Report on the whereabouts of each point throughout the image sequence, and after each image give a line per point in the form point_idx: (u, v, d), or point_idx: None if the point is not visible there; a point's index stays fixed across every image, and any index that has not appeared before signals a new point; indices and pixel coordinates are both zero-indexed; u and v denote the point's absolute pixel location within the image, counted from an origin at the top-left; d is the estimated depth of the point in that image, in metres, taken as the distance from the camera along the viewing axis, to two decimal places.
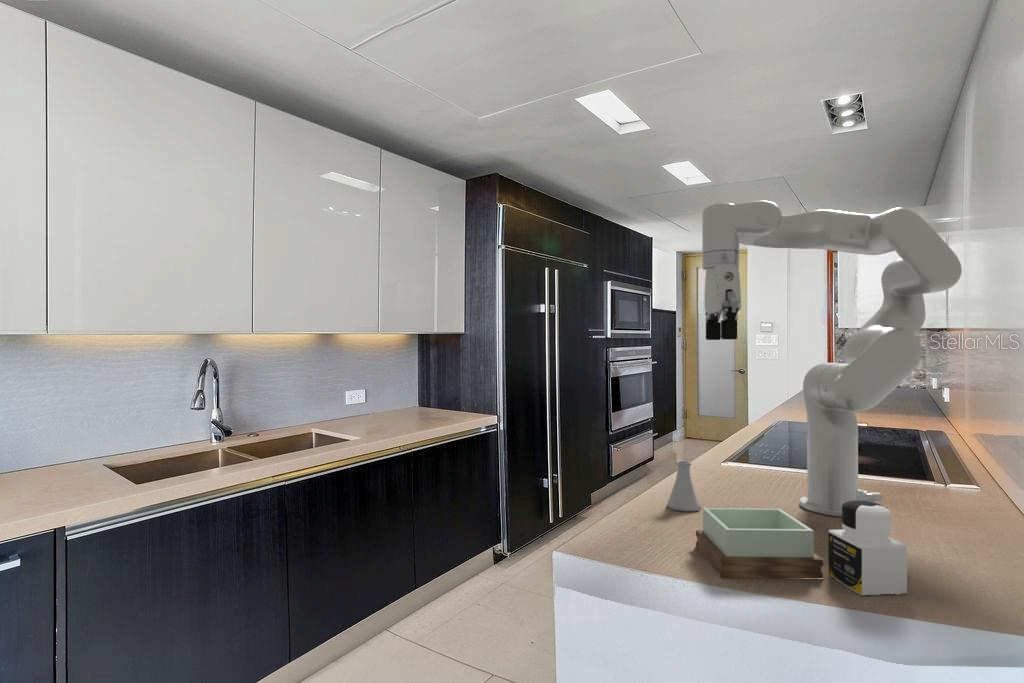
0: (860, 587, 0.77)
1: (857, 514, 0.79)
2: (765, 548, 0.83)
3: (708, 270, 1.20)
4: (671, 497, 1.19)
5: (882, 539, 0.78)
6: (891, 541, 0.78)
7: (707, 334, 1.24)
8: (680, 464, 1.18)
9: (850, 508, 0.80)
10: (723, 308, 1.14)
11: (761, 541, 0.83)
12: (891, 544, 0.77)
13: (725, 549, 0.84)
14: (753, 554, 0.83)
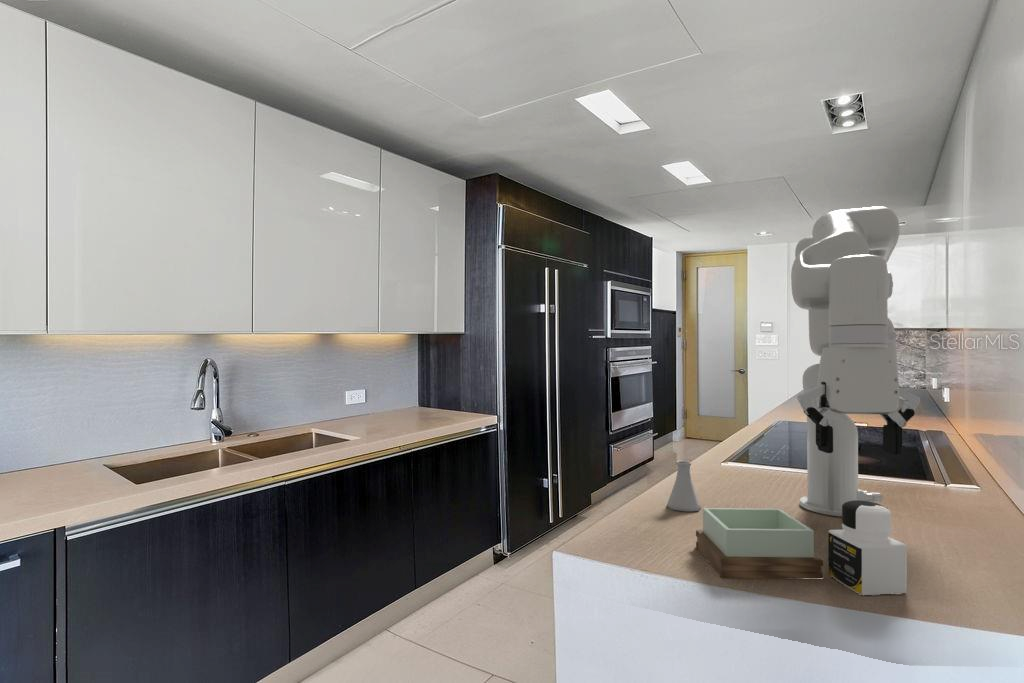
0: (860, 587, 0.77)
1: (856, 514, 0.79)
2: (765, 548, 0.83)
3: (864, 350, 0.80)
4: (671, 497, 1.19)
5: (882, 539, 0.78)
6: (891, 541, 0.78)
7: (832, 445, 0.81)
8: (680, 464, 1.18)
9: (850, 508, 0.80)
10: None
11: (761, 541, 0.83)
12: (891, 544, 0.77)
13: (725, 549, 0.84)
14: (753, 554, 0.83)
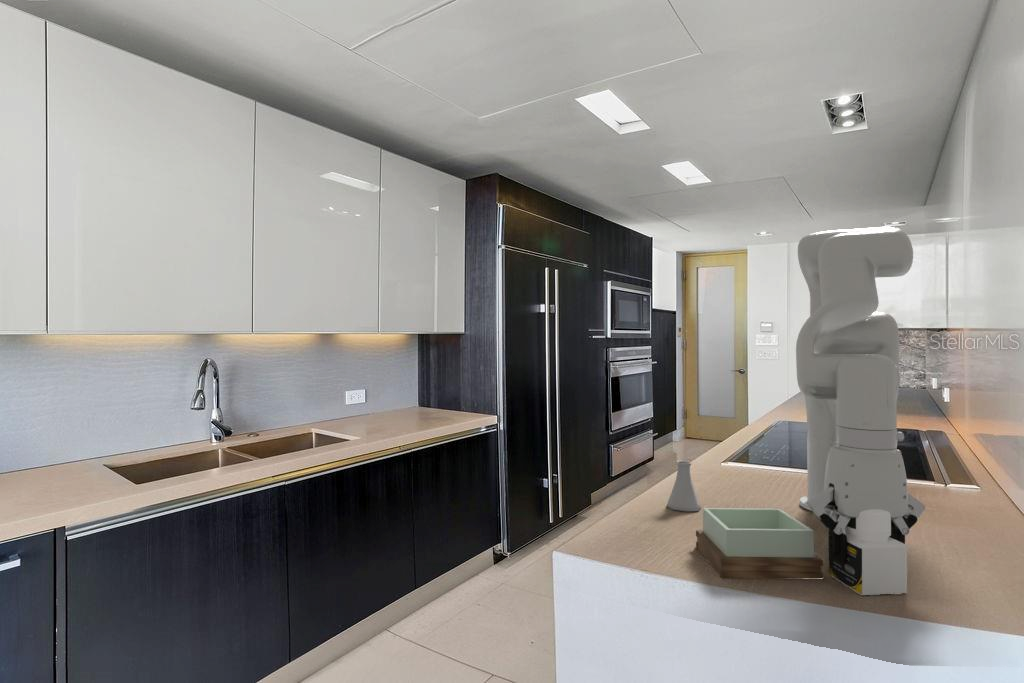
0: (860, 587, 0.77)
1: None
2: (765, 548, 0.83)
3: (874, 455, 0.78)
4: (671, 497, 1.19)
5: (882, 539, 0.78)
6: (891, 541, 0.78)
7: (846, 554, 0.79)
8: (680, 464, 1.18)
9: None
10: None
11: (761, 541, 0.83)
12: (891, 544, 0.77)
13: (725, 549, 0.84)
14: (753, 554, 0.83)
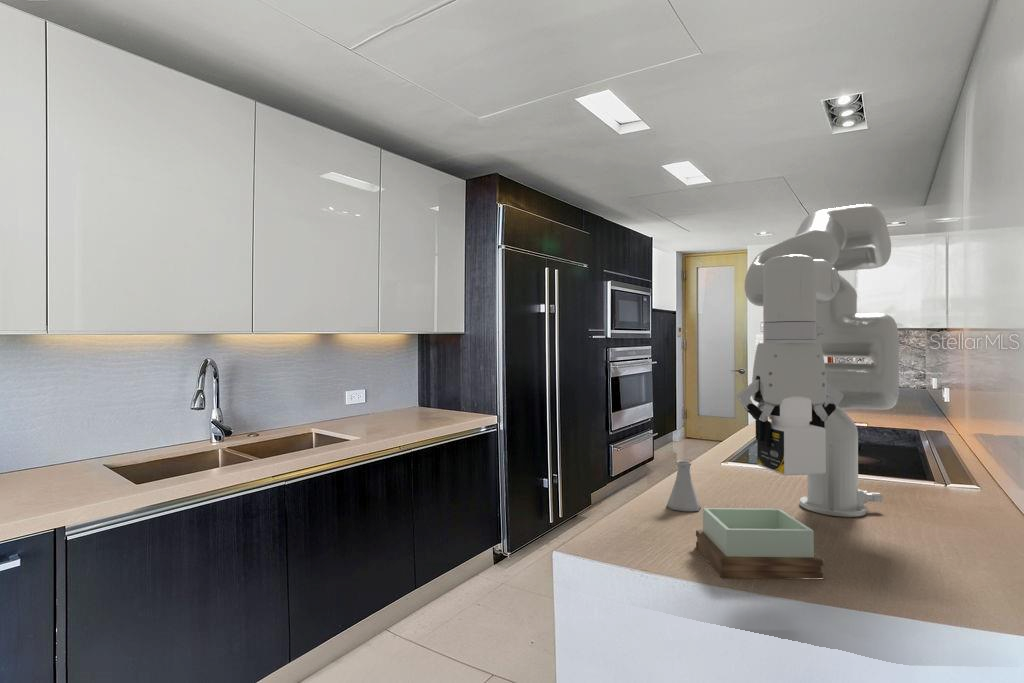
0: (782, 467, 0.82)
1: None
2: (765, 548, 0.83)
3: (795, 346, 0.84)
4: (671, 497, 1.19)
5: (803, 424, 0.84)
6: (812, 426, 0.84)
7: (770, 439, 0.85)
8: (680, 464, 1.18)
9: None
10: None
11: (761, 541, 0.83)
12: (811, 428, 0.83)
13: (725, 549, 0.84)
14: (753, 554, 0.83)
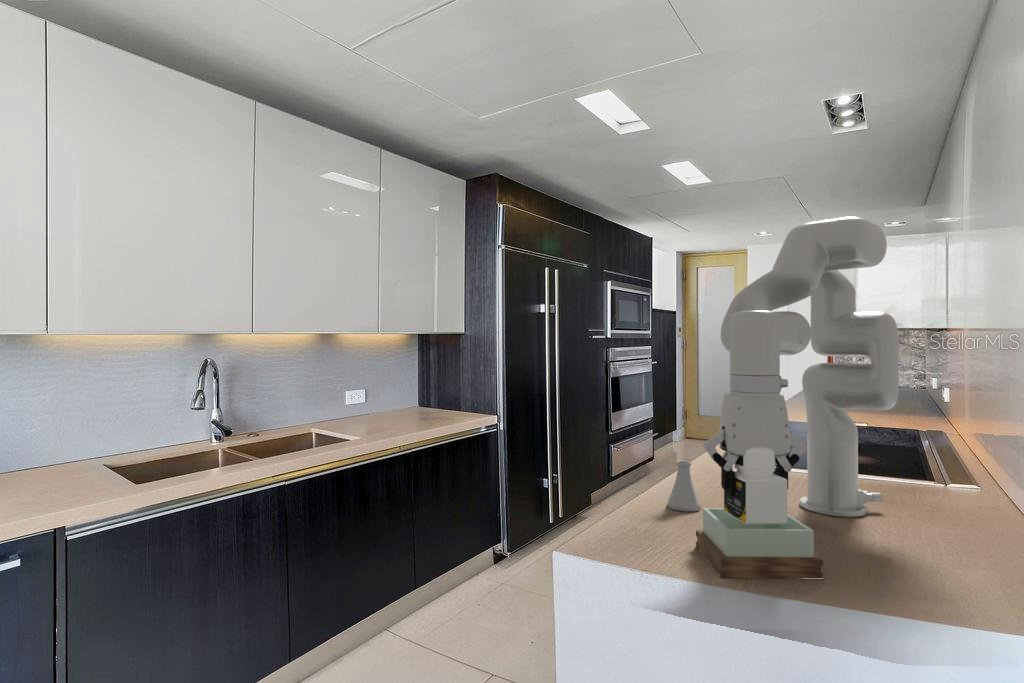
0: (744, 517, 0.85)
1: None
2: (765, 548, 0.83)
3: (758, 399, 0.87)
4: (671, 497, 1.19)
5: (766, 474, 0.86)
6: (774, 476, 0.87)
7: (734, 488, 0.88)
8: (680, 464, 1.18)
9: None
10: None
11: (761, 541, 0.83)
12: (773, 479, 0.86)
13: (725, 549, 0.84)
14: (753, 554, 0.83)
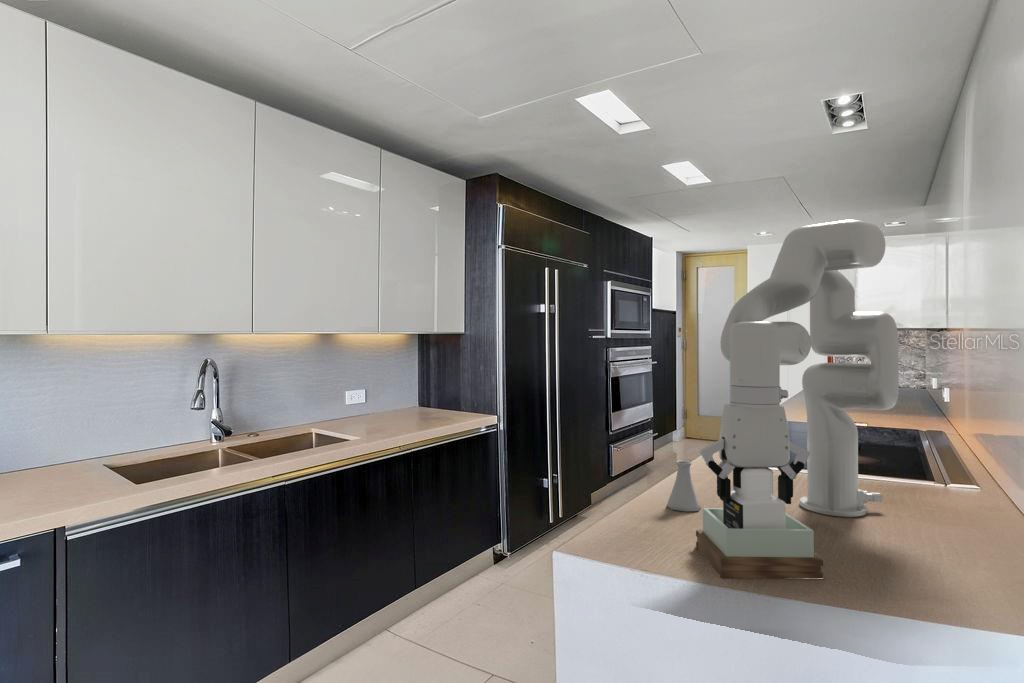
0: None
1: (741, 475, 0.88)
2: (765, 548, 0.83)
3: (758, 410, 0.87)
4: (671, 497, 1.19)
5: (763, 497, 0.87)
6: (772, 499, 0.87)
7: (729, 496, 0.88)
8: (680, 464, 1.18)
9: (737, 470, 0.89)
10: None
11: (761, 541, 0.83)
12: (771, 501, 0.86)
13: (725, 549, 0.84)
14: (753, 554, 0.83)
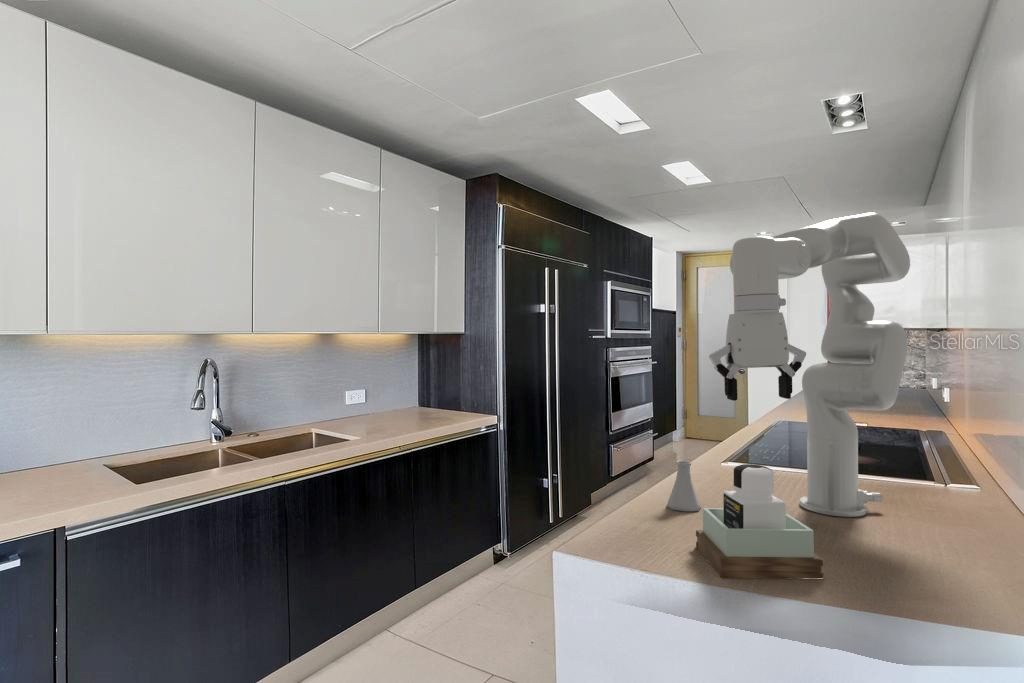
0: None
1: (742, 475, 0.88)
2: (765, 548, 0.83)
3: (760, 315, 0.97)
4: (671, 497, 1.19)
5: (764, 497, 0.87)
6: (773, 499, 0.87)
7: (736, 394, 0.98)
8: (680, 464, 1.18)
9: (738, 470, 0.89)
10: None
11: (761, 541, 0.83)
12: (771, 501, 0.86)
13: (725, 549, 0.84)
14: (753, 554, 0.83)
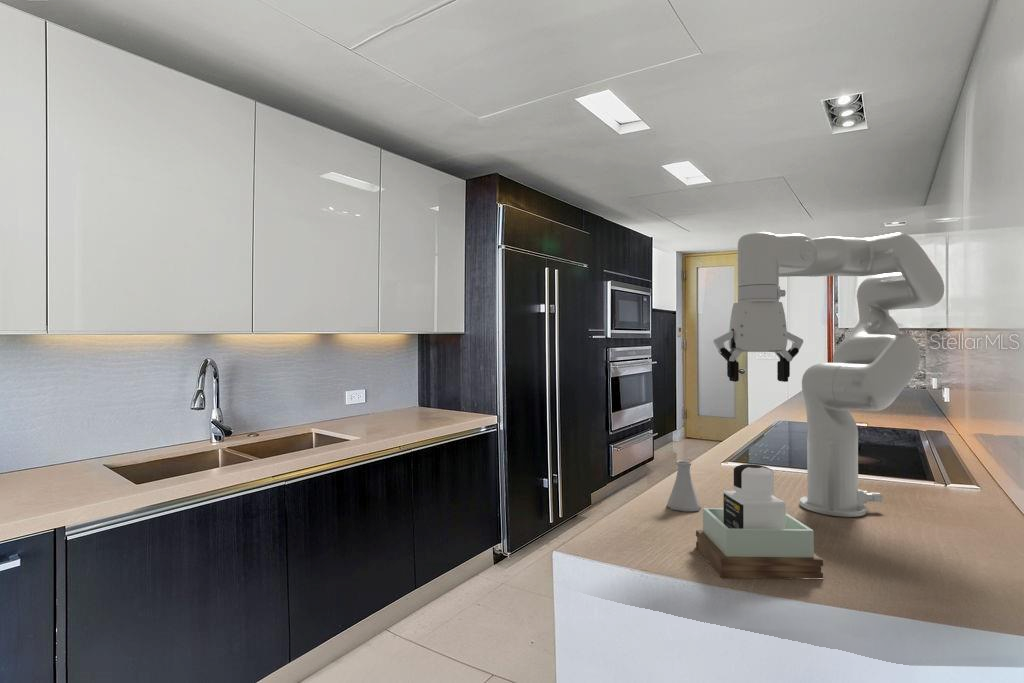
0: None
1: (742, 475, 0.88)
2: (765, 548, 0.83)
3: (761, 304, 1.06)
4: (671, 497, 1.19)
5: (764, 497, 0.87)
6: (773, 499, 0.87)
7: (738, 375, 1.08)
8: (680, 464, 1.18)
9: (738, 470, 0.89)
10: None
11: (761, 541, 0.83)
12: (771, 501, 0.86)
13: (725, 549, 0.84)
14: (753, 554, 0.83)
